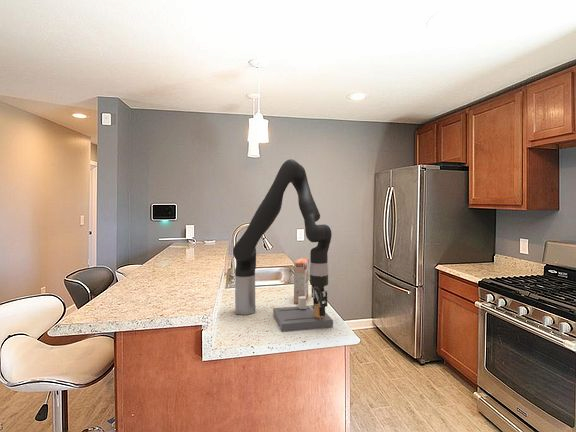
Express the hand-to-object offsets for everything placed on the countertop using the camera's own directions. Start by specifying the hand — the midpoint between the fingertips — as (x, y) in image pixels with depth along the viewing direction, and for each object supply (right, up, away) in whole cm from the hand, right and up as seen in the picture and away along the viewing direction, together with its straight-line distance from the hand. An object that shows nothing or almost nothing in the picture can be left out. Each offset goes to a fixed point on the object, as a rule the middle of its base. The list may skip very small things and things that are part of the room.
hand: (319, 312), depth 132 cm
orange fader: (0, -2, 0) cm, 2 cm away
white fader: (-6, -1, +11) cm, 13 cm away
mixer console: (-7, -5, +5) cm, 10 cm away
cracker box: (-6, -4, +35) cm, 35 cm away
